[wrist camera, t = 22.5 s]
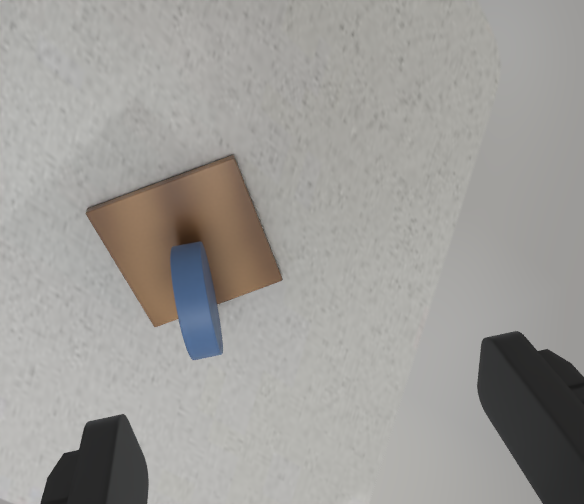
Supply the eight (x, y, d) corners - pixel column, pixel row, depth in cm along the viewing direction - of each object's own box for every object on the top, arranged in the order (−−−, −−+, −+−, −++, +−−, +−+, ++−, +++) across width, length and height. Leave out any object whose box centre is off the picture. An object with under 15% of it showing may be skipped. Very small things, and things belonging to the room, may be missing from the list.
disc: (207, 250, 40) (195, 231, 32) (225, 351, 39) (218, 357, 31) (181, 255, 40) (163, 237, 32) (199, 356, 39) (185, 364, 31)
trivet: (233, 154, 36) (234, 158, 35) (281, 275, 41) (283, 280, 41) (86, 208, 36) (84, 213, 35) (155, 321, 41) (154, 328, 41)
